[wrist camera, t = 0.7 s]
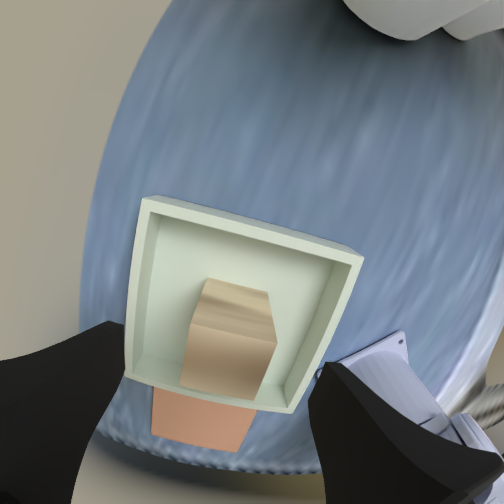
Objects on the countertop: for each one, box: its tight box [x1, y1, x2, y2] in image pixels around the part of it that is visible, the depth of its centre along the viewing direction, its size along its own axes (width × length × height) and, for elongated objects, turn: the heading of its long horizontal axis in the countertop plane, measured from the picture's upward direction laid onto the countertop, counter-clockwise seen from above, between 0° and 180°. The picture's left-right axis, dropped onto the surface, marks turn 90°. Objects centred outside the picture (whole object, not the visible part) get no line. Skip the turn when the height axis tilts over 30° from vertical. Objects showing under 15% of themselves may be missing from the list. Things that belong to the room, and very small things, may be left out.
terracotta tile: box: [151, 387, 257, 453], centre depth 21 cm, size 9×9×1 cm
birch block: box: [179, 277, 278, 401], centre depth 15 cm, size 4×4×6 cm
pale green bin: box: [124, 195, 364, 414], centre depth 17 cm, size 13×13×3 cm
